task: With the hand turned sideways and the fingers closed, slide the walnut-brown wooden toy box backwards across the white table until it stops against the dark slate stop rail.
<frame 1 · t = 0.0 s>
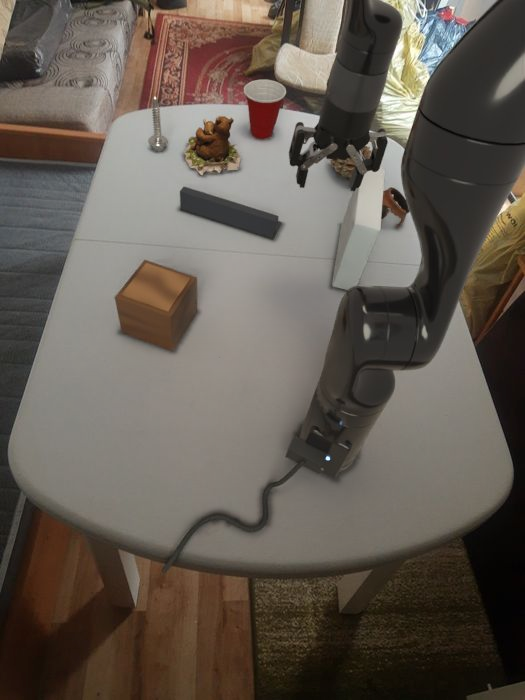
hand: (326, 186, 79), 22 cm above the table, tool pointing down, fingers open, 8 cm apart
skincare box: (348, 257, 104), on the table
stop rail: (227, 222, 106), on the table
bear figurine: (211, 158, 121), on the table
screw: (158, 149, 121), on the table
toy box: (160, 322, 87), on the table
pottery mug: (379, 221, 112), on the table
pine cone: (339, 167, 125), on the table
plastic cup: (260, 134, 131), on the table
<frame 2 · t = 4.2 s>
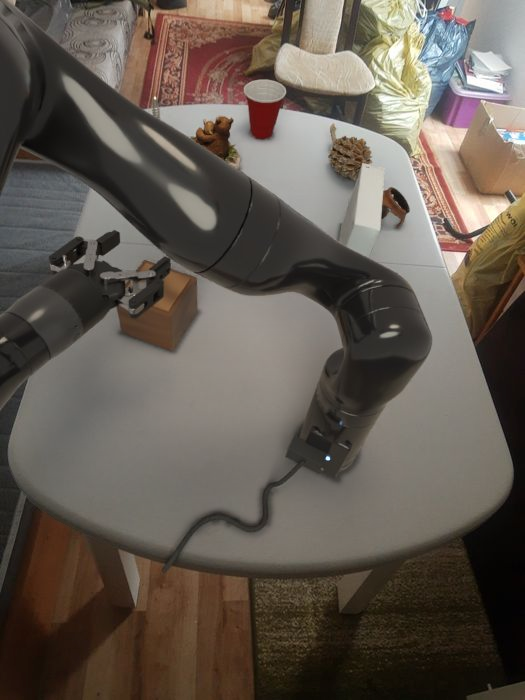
hand: (142, 249, 67), 22 cm above the table, tool horizontal, fingers open, 8 cm apart
nothing on the table moved.
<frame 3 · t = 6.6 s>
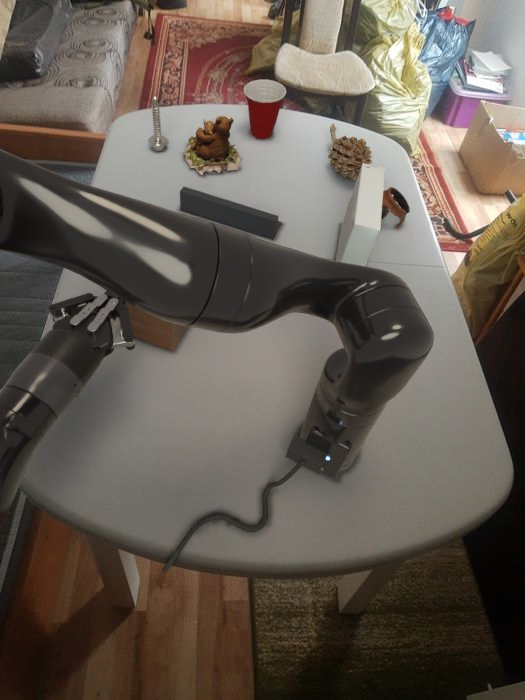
hand: (125, 284, 69), 17 cm above the table, tool horizontal, fingers closed
nothing on the table moved.
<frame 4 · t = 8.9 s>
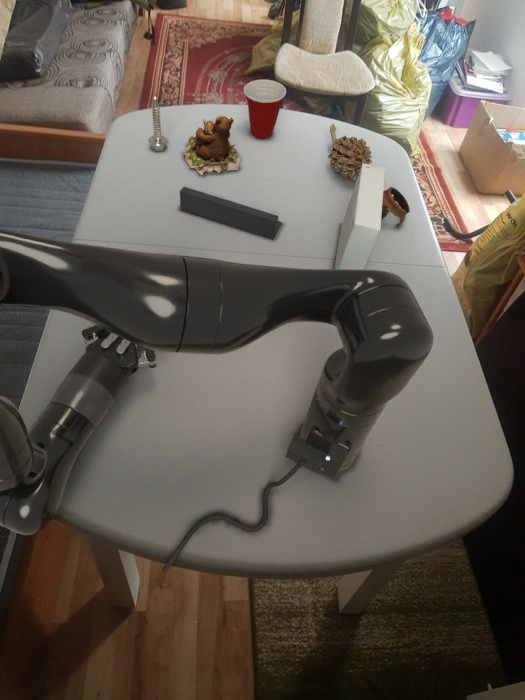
hand: (146, 309, 79), 7 cm above the table, tool horizontal, fingers closed
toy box: (163, 317, 88), on the table, touching gripper
everything else where it was.
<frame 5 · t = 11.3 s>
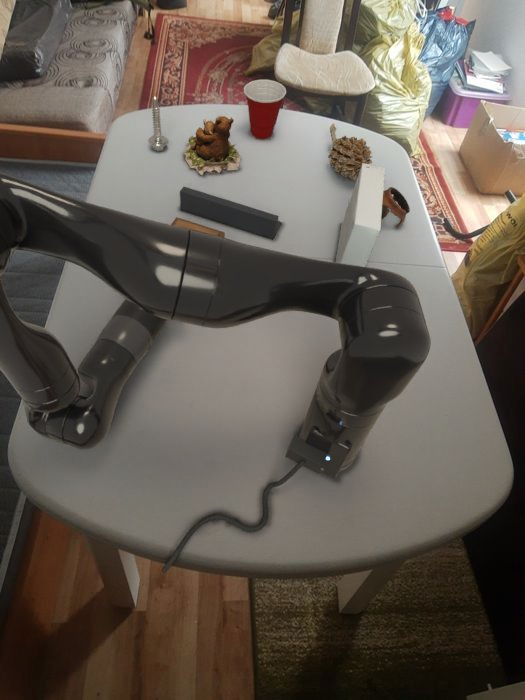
hand: (177, 264, 86), 7 cm above the table, tool horizontal, fingers closed
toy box: (190, 275, 95), on the table, touching gripper
everything else where it was.
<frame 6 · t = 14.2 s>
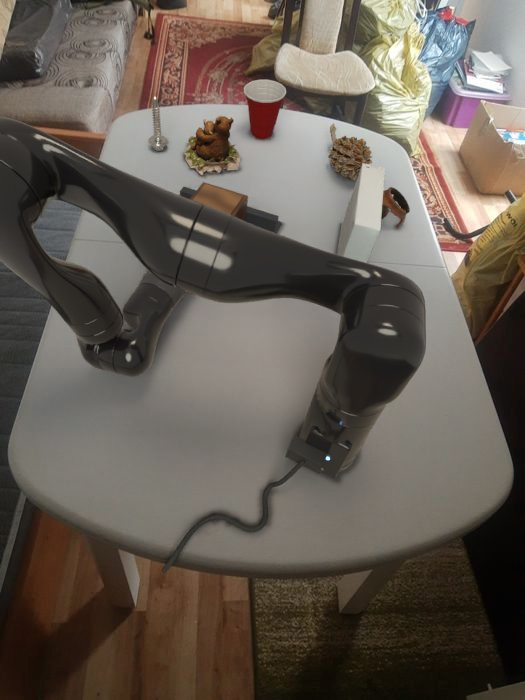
hand: (205, 224, 94), 7 cm above the table, tool horizontal, fingers closed
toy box: (214, 237, 103), on the table, touching gripper, stop rail
everything else where it was.
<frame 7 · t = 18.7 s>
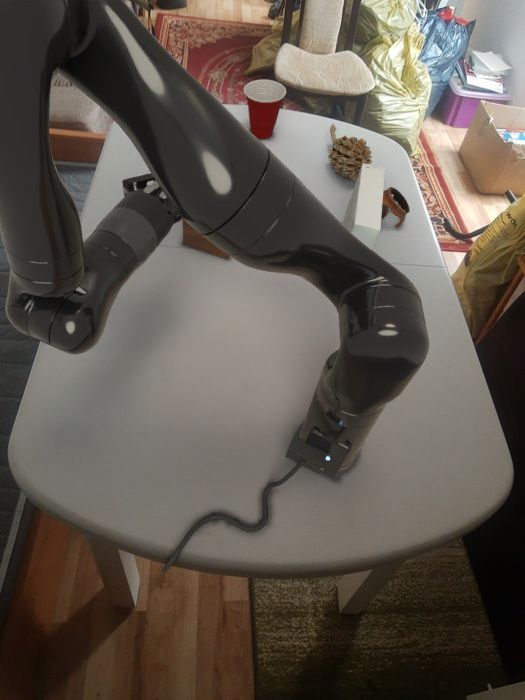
hand: (187, 169, 75), 24 cm above the table, tool horizontal, fingers closed
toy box: (214, 237, 103), on the table
everything else where it was.
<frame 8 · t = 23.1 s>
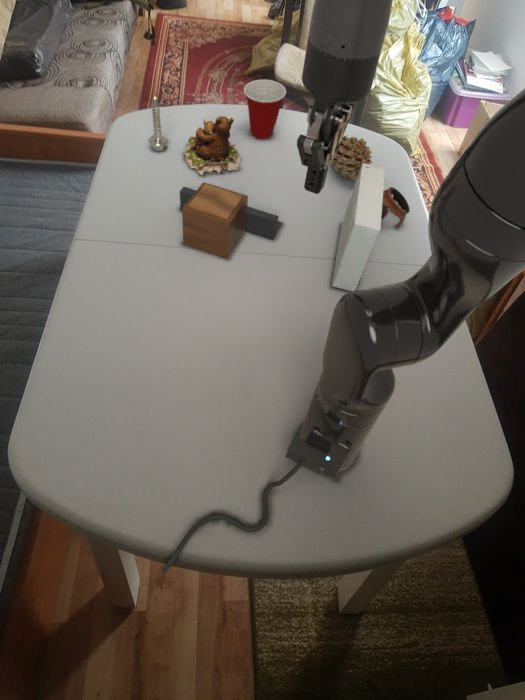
hand: (313, 189, 62), 32 cm above the table, tool pointing down, fingers closed
nothing on the table moved.
at the end: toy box inside the target area on the table beside the stop rail (1.1 cm from its centre), on the table; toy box tilted 0°; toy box moved 26.0 cm from its start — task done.
